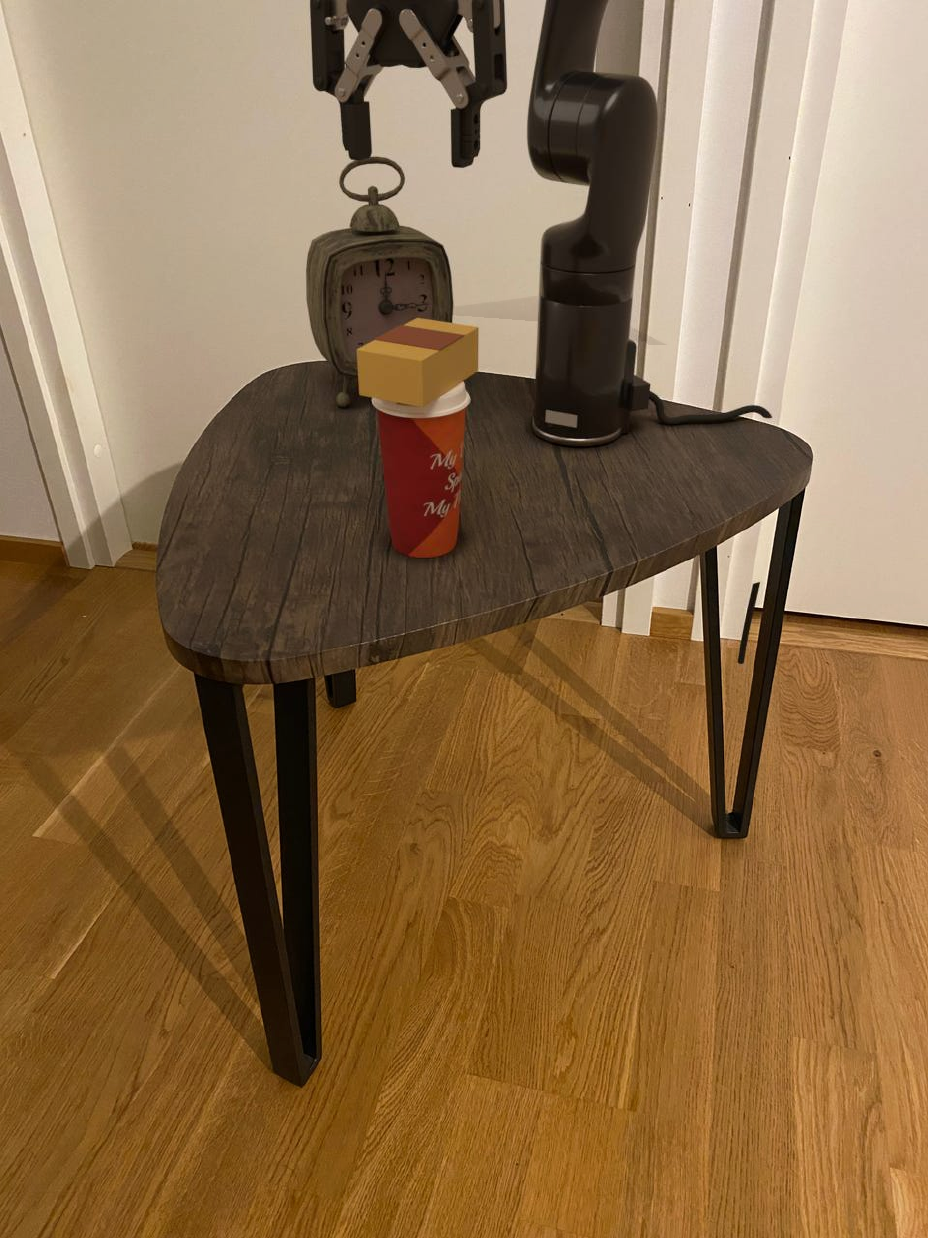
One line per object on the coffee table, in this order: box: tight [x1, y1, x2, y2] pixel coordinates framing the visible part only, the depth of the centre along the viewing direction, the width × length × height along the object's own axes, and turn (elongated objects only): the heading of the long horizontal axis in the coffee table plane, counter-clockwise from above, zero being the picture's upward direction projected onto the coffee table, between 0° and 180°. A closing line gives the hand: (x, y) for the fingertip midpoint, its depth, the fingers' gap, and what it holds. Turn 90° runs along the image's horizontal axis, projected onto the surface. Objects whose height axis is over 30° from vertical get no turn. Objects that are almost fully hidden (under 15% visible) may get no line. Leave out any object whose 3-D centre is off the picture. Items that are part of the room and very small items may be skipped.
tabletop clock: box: [305, 156, 454, 408], centre depth 106 cm, size 14×9×25 cm, turn 111°
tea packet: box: [357, 318, 480, 407], centre depth 75 cm, size 9×6×4 cm, turn 153°
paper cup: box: [371, 380, 471, 559], centre depth 80 cm, size 8×8×14 cm
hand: (410, 162), depth 71 cm, fingers open, 8 cm apart
